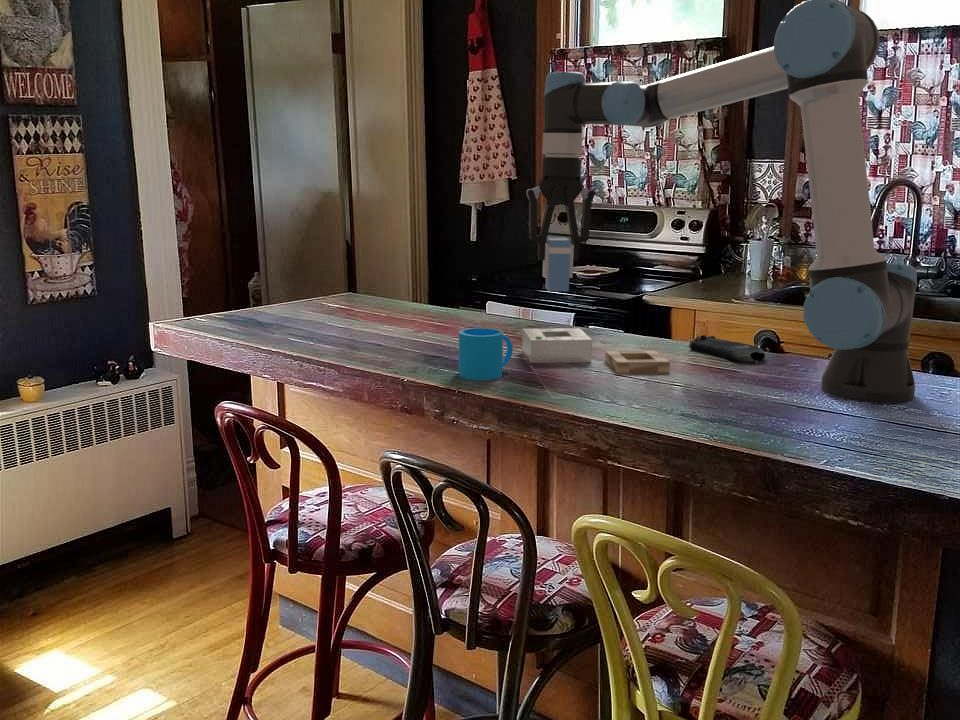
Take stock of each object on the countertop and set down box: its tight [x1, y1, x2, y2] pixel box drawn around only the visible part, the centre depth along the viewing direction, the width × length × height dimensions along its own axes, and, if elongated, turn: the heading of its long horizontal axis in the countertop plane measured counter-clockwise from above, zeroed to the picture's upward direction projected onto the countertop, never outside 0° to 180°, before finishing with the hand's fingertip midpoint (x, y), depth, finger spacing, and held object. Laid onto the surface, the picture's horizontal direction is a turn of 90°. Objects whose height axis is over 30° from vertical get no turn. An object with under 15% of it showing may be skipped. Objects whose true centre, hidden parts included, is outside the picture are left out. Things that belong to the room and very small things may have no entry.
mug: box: [458, 327, 514, 381], centre depth 171 cm, size 12×8×8 cm
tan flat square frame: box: [604, 350, 671, 374], centre depth 176 cm, size 10×10×2 cm
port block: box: [521, 327, 593, 366], centre depth 184 cm, size 12×12×5 cm
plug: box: [544, 237, 572, 292], centre depth 181 cm, size 4×4×10 cm
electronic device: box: [688, 334, 766, 364], centre depth 189 cm, size 9×6×15 cm
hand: (557, 276), depth 182 cm, fingers closed on plug, 4 cm apart
